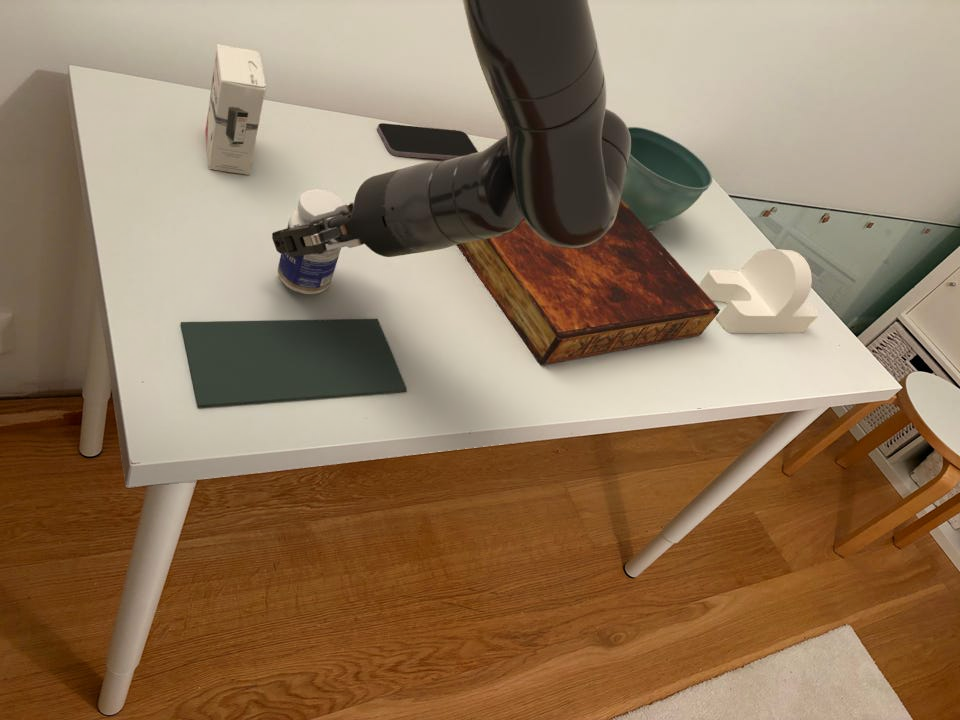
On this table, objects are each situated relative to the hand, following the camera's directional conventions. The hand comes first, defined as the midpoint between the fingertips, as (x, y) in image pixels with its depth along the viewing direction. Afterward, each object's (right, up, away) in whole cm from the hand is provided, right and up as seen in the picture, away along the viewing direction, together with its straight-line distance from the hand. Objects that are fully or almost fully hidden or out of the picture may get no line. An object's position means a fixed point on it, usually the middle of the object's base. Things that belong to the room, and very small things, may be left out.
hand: (301, 234), depth 75 cm
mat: (+1, -13, -4) cm, 14 cm away
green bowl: (+43, +11, +44) cm, 63 cm away
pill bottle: (0, -4, +3) cm, 5 cm away
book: (+32, -3, +23) cm, 39 cm away
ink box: (-13, +12, +14) cm, 23 cm away
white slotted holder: (+60, -5, +37) cm, 71 cm away
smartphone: (+11, +19, +34) cm, 40 cm away
